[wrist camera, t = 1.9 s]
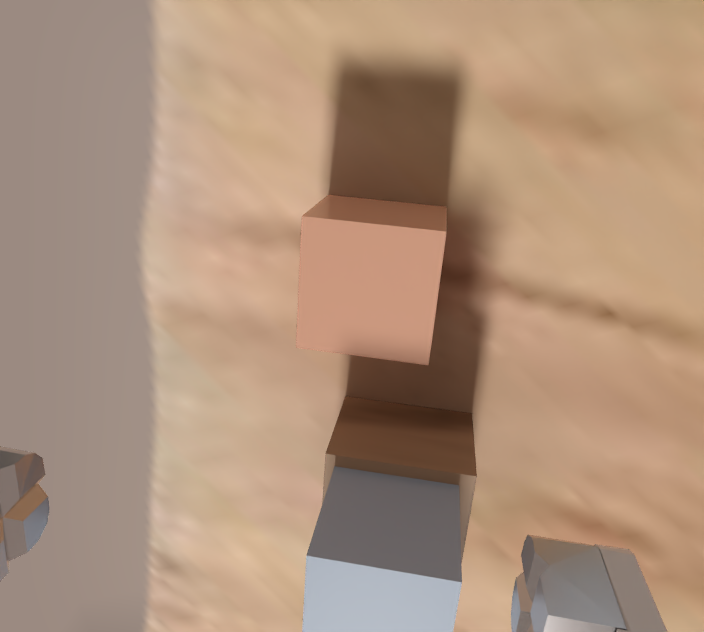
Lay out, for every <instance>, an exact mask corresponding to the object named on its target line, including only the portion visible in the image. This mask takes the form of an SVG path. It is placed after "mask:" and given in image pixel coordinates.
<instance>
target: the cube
mask: <svg viewBox="0 0 704 632" xmlns="http://www.w3.org/2000/svg"><path fill="white" fill-rule="evenodd" d="M446 233H447V207H444V206H434V205H424V204H414V203H404V202H395V201H385V200H375V199H365V198H355V197H346V196H336V195H328V196H326V197H325V198H324V199H323V200H321V201H320V202H319V203H318V204H316V205H315V206H314V207H313V208H311V209H310V210H309V211H308V212H306V213H305V214H304V215H303V216H302V225H301V247H300V269H299V291H298V313H297V335H296V348H303V349H310V350H318V351H325V352H333V353H340V354H348V355H355V356H363V357H370V358H378V359H385V360H393V361H400V362H408V363H415V364H423V365H429V358H430V351H431V343H432V336H433V329H434V321H435V314H436V306H437V299H438V292H439V284H440V277H441V270H442V262H443V255H444V247H445V240H446Z"/></svg>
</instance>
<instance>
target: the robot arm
mask: <svg viewBox="0 0 704 632" xmlns="http://www.w3.org/2000/svg"><path fill="white" fill-rule="evenodd" d="M44 475H45V470H44V464H43V459H42V457H40V456H39V455H37V454H36V453H33V452H28V451H22V450H17V449H12V448H7V447H1V446H0V581H1V580H2V579H3V578H4V577H5V576H6V575H7V574H8V572H9V561H10V560H12V559H15V558H17V557H19V556H21V555H23V554H25V553H27V552H28V551H29V550H30V549H31V548H32V547H33V546H34V545H35V544H36V542H37V541H38V540H39V539H40V536H41V534H42V532H43V530H44V528H45V526H46V524H47V521H48V514H49V501H48V496H47V495H46V493H45V492H44V491H43V489H42V488H41V487H40V485H39V482H40V481H41V480H42V478H43V477H44ZM521 557H522V563H523V570H524V572H523V573H522V574H520V575H519V576H518V577H516V581H515V586H514V591H513V597H512V609H511V625H512V632H667V630H666V627H665V625H664V623H663V620H662V618H661V616H660V613H659V611H658V609H657V606H656V604H655V602H654V599H653V597H652V595H651V592H650V590H649V588H648V585H647V583H646V581H645V578H644V576H643V574H642V571H641V569H640V567H639V564H638V562H637V560H636V557H635V555H634V554H633V553H632V552H631V551H630V550H629V549H624V548H617V547H610V546H603V545H596V544H595V545H589V544H583V543H577V542H570V541H564V540H558V539H552V538H545V537H539V536H533V535H527V538H526V540H525V542H524V546H523V550H522V554H521Z"/></svg>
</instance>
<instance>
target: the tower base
mask: <svg viewBox="0 0 704 632" xmlns="http://www.w3.org/2000/svg"><path fill="white" fill-rule="evenodd" d="M334 466H336V467H343V468H349V469H356V470H362V471H369V472H375V473H382V474H388V475H395V476H401V477H408V478H414V479H421V480H427V481H434V482H440V483H447V484H454V485H459V498H460V535H461V563H462V557H463V552H464V546H465V540H466V535H467V529H468V523H469V517H470V512H471V506H472V500H473V495H474V489H475V483H476V477H477V474H476V461H475V448H474V434H473V421H472V414H471V413H464V412H457V411H450V410H442V409H435V408H428V407H421V406H413V405H406V404H399V403H391V402H384V401H377V400H370V399H362V398H355V397H348V396H345V399H344V402H343V405H342V408H341V411H340V414H339V417H338V419H337V422H336V425H335V428H334V431H333V434H332V437H331V440H330V443H329V445H328V448H327V451H326V456H325V471H324V487H323V501H324V498H325V495H326V492H327V489H328V485H329V482H330V479H331V476H332V473H333V469H334ZM322 505H323V503H322Z"/></svg>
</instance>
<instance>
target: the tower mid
mask: <svg viewBox="0 0 704 632" xmlns="http://www.w3.org/2000/svg"><path fill="white" fill-rule="evenodd" d="M461 584H462V572H461V535H460V498H459V485H454V484H447V483H440V482H434V481H427V480H421V479H414V478H408V477H401V476H395V475H388V474H382V473H375V472H369V471H362V470H356V469H349V468H343V467H336V466H334V469H333V473H332V476H331V479H330V482H329V485H328V489H327V492H326V495H325V498H324V501H323V505H322V508H321V511H320V514H319V517H318V521H317V524H316V527H315V530H314V533H313V537H312V540H311V543H310V546H309V549H308V553H307V557H306V575H305V593H304V612H303V630H302V632H453V629H454V623H455V618H456V612H457V606H458V601H459V595H460V590H461Z"/></svg>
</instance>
